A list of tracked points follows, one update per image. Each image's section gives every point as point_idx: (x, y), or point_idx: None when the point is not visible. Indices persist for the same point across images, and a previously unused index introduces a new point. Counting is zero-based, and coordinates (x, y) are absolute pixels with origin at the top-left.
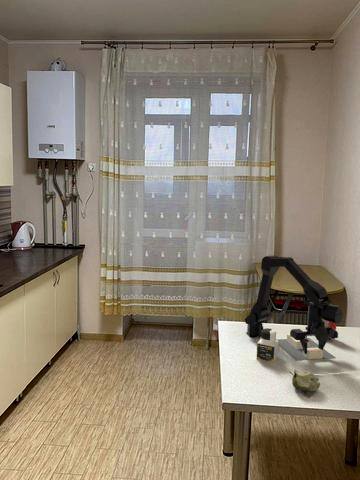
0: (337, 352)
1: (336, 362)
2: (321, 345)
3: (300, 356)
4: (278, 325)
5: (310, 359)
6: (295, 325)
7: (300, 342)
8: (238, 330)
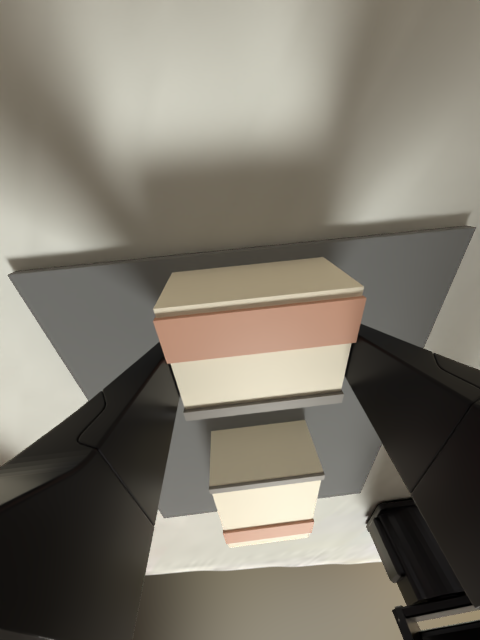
0: (3, 393)
1: (18, 176)
2: (144, 406)
3: None
4: (248, 563)
5: (309, 251)
6: (182, 569)
7: (295, 473)
8: None
